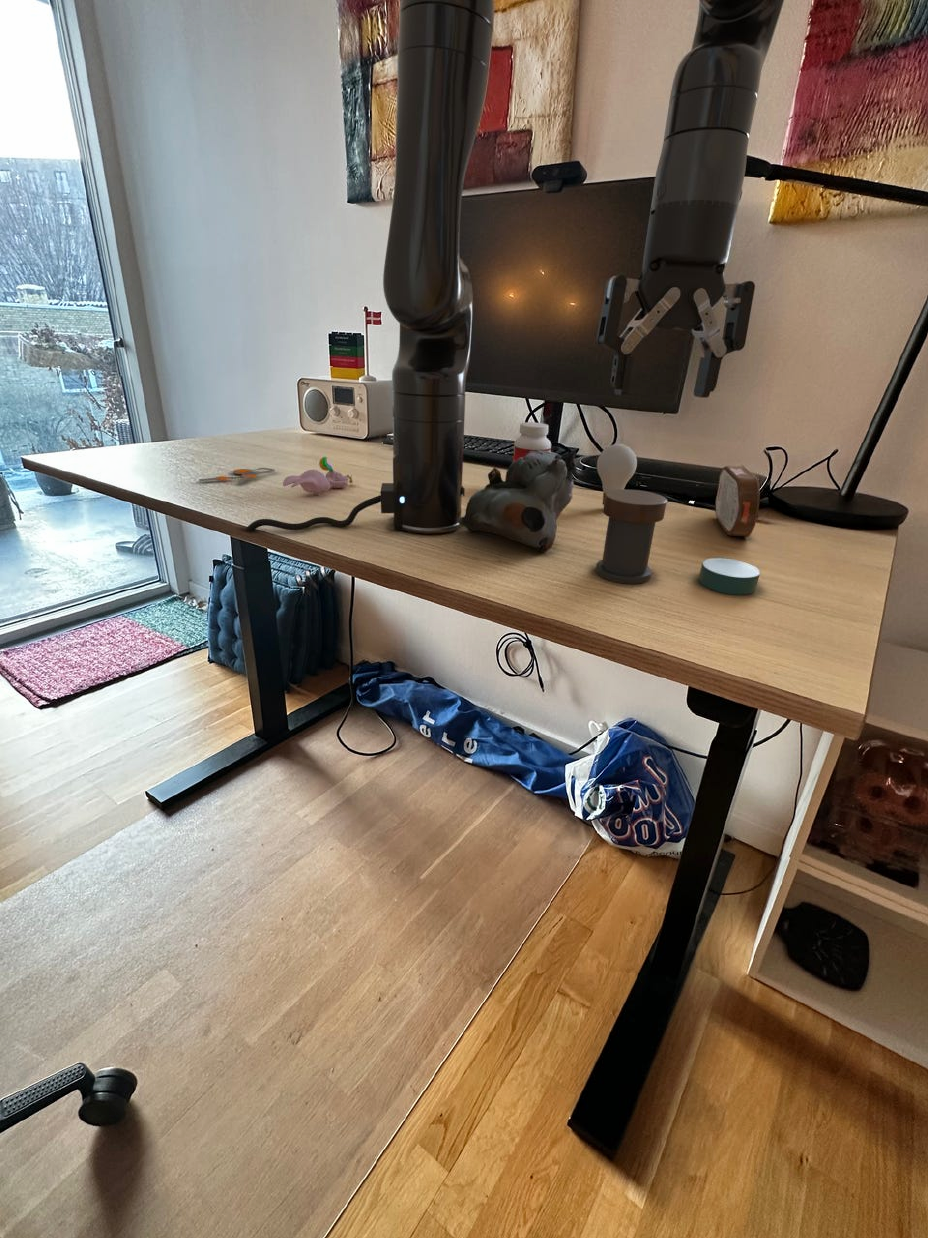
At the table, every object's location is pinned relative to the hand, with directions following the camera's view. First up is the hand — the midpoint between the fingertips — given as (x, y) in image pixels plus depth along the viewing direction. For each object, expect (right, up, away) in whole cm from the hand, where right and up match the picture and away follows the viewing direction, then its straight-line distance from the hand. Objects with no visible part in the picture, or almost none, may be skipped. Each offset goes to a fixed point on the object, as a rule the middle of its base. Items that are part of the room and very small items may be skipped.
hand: (660, 395), depth 59 cm
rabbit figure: (-44, -3, +34) cm, 56 cm away
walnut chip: (-2, -11, +4) cm, 12 cm away
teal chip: (+9, -19, +6) cm, 22 cm away
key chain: (-59, +2, +42) cm, 73 cm away
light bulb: (+3, -6, +32) cm, 33 cm away
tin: (+19, -10, +26) cm, 33 cm away
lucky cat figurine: (-14, -12, +17) cm, 25 cm away
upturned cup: (-2, -18, +7) cm, 19 cm away
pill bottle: (-9, -1, +41) cm, 42 cm away
